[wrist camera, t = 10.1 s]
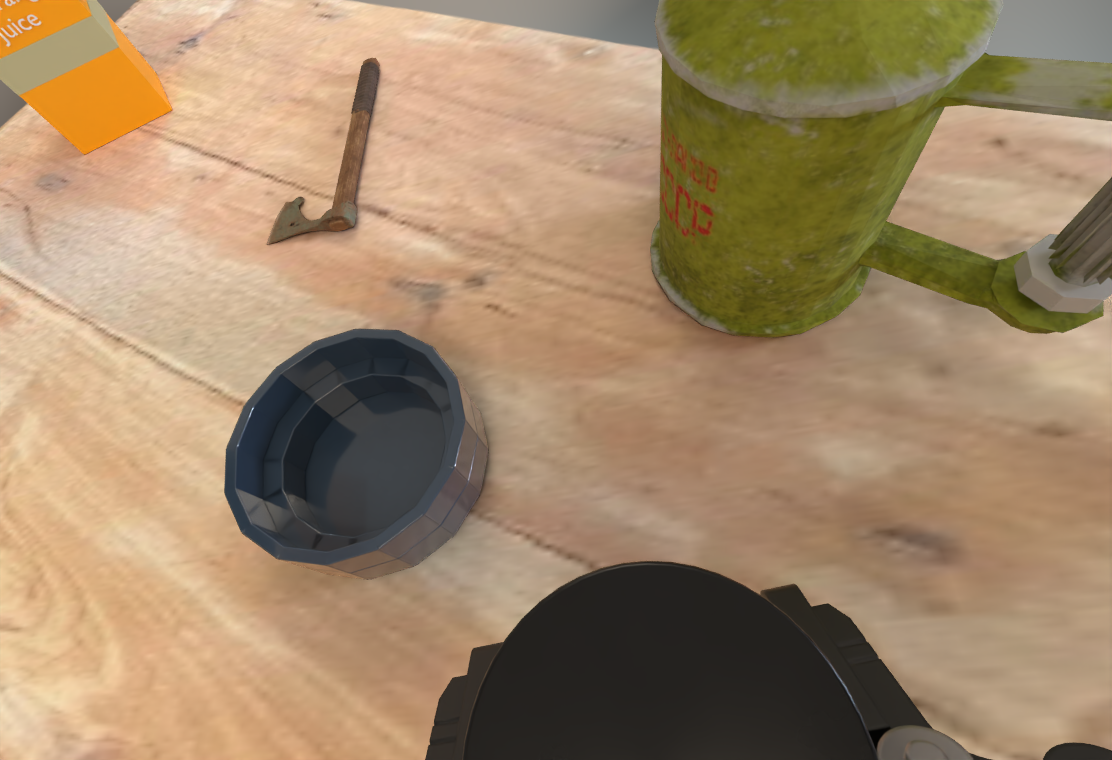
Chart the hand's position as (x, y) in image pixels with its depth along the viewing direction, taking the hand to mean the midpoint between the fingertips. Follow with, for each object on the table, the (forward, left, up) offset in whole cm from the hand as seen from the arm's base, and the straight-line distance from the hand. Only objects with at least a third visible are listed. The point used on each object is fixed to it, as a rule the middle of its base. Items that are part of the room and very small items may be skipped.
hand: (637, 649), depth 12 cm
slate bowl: (-2, -17, -15) cm, 23 cm away
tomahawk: (-21, -36, -15) cm, 45 cm away
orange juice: (-17, -63, -15) cm, 67 cm away
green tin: (+1, +1, -4) cm, 5 cm away
